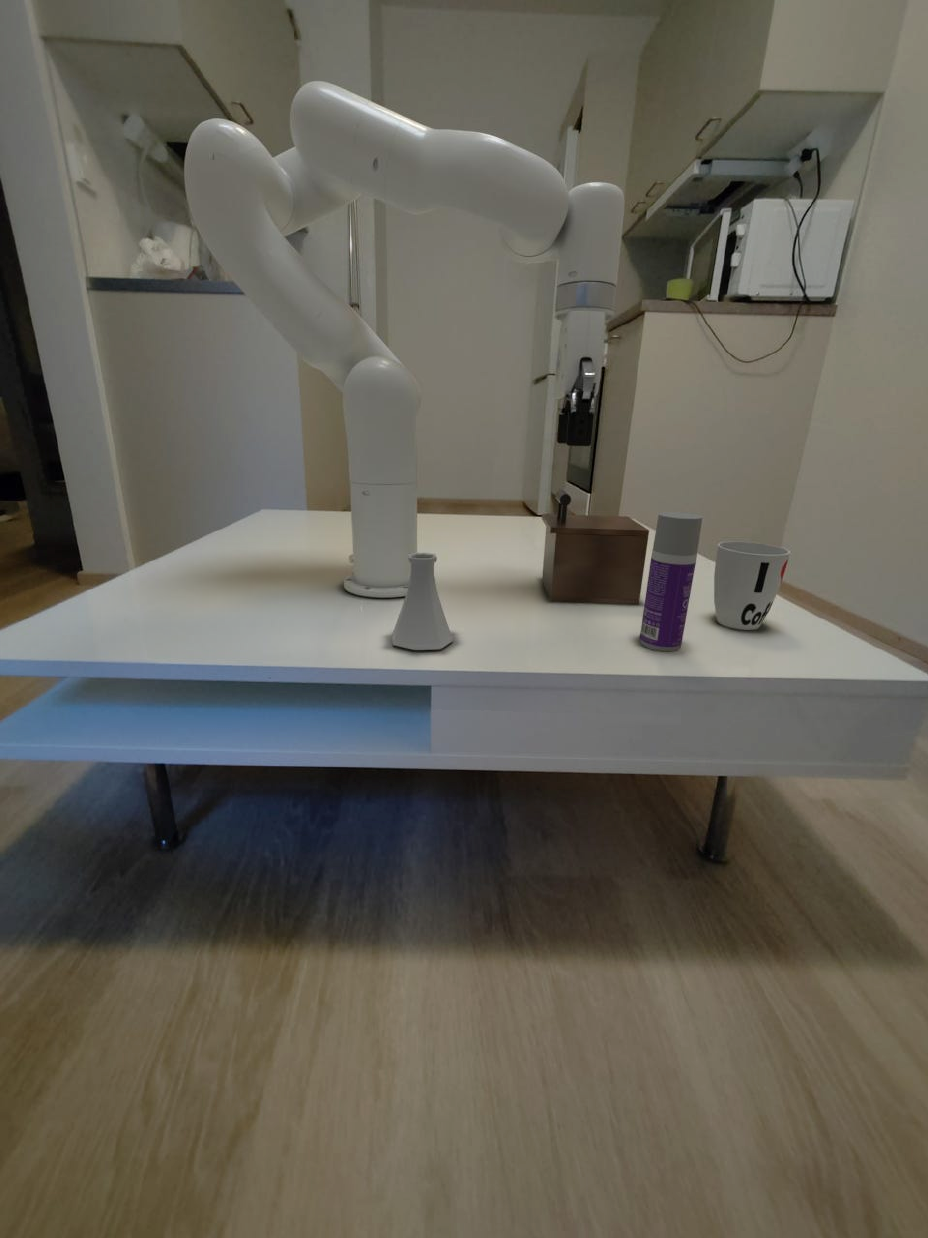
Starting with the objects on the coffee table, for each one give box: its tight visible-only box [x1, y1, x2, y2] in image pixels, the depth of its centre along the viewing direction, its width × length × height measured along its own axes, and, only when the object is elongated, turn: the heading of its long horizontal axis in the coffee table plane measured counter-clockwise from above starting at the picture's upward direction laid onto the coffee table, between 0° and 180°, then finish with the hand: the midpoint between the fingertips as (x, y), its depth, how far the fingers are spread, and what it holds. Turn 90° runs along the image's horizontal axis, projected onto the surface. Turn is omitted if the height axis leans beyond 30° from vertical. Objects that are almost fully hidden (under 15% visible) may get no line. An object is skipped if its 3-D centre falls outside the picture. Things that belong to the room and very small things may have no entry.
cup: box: [713, 541, 791, 631], centre depth 70 cm, size 8×8×10 cm
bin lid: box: [541, 489, 650, 537], centre depth 79 cm, size 13×12×5 cm
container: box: [638, 511, 703, 652], centre depth 61 cm, size 5×5×15 cm
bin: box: [541, 526, 649, 605], centre depth 82 cm, size 13×12×10 cm
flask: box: [391, 552, 454, 651], centre depth 61 cm, size 7×7×10 cm
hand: (572, 444), depth 76 cm, fingers open, 9 cm apart
